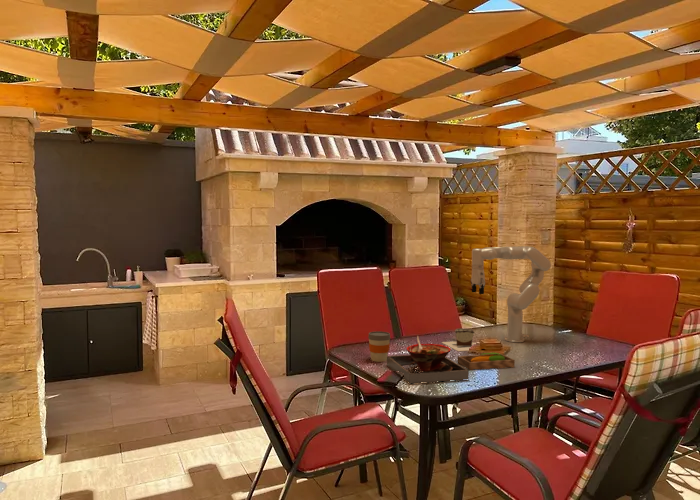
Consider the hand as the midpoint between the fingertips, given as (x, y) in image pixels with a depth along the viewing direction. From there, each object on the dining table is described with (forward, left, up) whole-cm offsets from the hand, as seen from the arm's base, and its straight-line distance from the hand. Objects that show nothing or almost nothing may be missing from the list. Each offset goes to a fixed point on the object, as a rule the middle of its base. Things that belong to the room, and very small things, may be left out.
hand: (477, 293), depth 354 cm
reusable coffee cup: (+78, +32, -32) cm, 90 cm away
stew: (+59, +58, -32) cm, 88 cm away
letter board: (+15, +12, -32) cm, 37 cm away
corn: (+24, +58, -32) cm, 71 cm away
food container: (+15, +10, -32) cm, 36 cm away
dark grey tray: (+62, +62, -32) cm, 93 cm away
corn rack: (+24, +56, -32) cm, 69 cm away
